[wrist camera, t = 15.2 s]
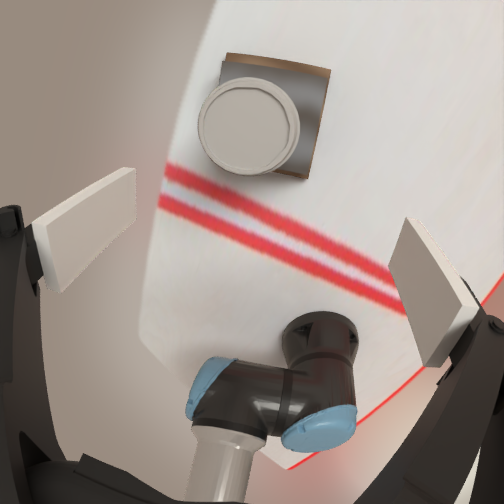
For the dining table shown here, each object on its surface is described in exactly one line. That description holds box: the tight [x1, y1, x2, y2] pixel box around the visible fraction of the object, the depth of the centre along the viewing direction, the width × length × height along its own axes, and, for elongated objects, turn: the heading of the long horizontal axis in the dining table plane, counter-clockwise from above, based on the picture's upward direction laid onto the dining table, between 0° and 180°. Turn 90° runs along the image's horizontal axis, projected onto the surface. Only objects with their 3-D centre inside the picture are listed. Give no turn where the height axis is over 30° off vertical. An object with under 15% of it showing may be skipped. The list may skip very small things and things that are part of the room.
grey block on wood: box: [219, 53, 331, 179], centre depth 38 cm, size 16×14×5 cm
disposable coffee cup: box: [198, 77, 300, 176], centre depth 31 cm, size 10×10×12 cm
